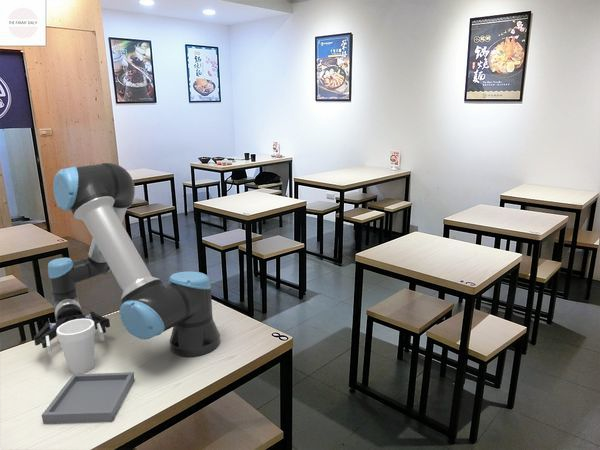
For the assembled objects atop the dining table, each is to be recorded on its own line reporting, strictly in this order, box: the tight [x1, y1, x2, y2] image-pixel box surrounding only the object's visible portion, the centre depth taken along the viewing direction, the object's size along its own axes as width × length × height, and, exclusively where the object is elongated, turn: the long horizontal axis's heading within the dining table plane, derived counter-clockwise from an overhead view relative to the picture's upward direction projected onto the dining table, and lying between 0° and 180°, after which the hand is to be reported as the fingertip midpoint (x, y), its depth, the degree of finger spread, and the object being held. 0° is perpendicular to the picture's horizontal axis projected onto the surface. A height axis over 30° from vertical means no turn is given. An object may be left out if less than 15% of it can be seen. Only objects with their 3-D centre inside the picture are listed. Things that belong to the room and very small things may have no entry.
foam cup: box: [56, 318, 96, 375], centre depth 122 cm, size 10×9×13 cm
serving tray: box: [41, 371, 136, 425], centre depth 110 cm, size 16×16×2 cm
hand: (76, 343), depth 124 cm, fingers open, 13 cm apart
